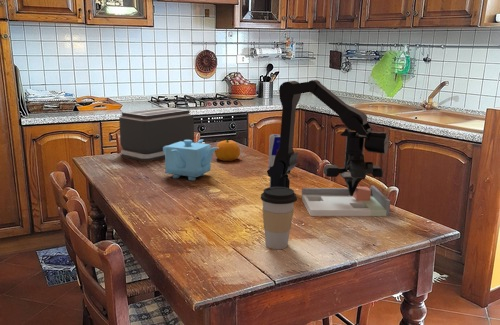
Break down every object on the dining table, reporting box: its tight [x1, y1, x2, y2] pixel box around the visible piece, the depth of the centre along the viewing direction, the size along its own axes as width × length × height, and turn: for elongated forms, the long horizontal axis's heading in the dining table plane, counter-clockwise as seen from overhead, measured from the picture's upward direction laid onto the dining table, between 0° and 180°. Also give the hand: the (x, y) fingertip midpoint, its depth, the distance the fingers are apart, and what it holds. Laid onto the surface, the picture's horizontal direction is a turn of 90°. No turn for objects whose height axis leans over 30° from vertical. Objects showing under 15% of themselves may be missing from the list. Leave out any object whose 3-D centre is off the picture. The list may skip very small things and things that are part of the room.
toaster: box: [118, 106, 195, 162], centre depth 229 cm, size 19×35×20 cm, turn 144°
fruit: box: [214, 138, 241, 162], centre depth 220 cm, size 12×12×10 cm
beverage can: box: [268, 133, 280, 169], centre depth 203 cm, size 5×5×15 cm
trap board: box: [301, 185, 391, 217], centre depth 157 cm, size 25×17×5 cm
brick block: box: [353, 186, 371, 201], centre depth 161 cm, size 4×4×4 cm
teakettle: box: [163, 138, 218, 181], centre depth 189 cm, size 19×19×15 cm
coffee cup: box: [260, 186, 298, 250], centre depth 125 cm, size 9×9×15 cm
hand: (351, 195), depth 160 cm, fingers closed
